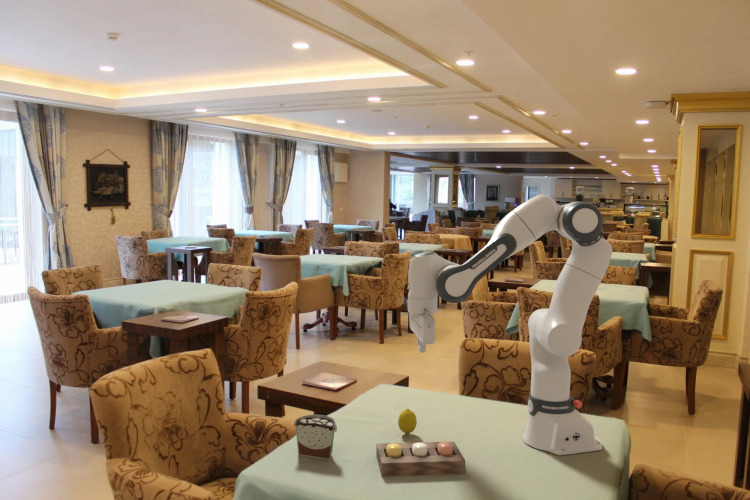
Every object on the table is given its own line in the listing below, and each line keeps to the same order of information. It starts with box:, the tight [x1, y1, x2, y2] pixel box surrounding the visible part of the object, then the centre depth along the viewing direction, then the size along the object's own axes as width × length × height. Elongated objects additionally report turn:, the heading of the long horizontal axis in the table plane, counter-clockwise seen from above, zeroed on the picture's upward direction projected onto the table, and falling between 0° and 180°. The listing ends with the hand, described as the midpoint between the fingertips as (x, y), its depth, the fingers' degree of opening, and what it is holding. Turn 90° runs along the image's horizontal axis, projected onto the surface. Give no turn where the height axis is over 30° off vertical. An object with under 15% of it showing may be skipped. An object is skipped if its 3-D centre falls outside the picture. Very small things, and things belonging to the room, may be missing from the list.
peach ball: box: [438, 441, 453, 456], centre depth 159 cm, size 4×4×4 cm
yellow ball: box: [386, 442, 402, 457], centre depth 158 cm, size 4×4×4 cm
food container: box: [293, 414, 338, 461], centre depth 164 cm, size 12×6×10 cm, turn 74°
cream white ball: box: [412, 442, 427, 456], centre depth 159 cm, size 4×4×4 cm
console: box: [375, 441, 466, 477], centre depth 159 cm, size 22×12×4 cm, turn 96°
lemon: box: [397, 408, 418, 435], centre depth 178 cm, size 6×6×8 cm
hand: (421, 351), depth 178 cm, fingers closed
